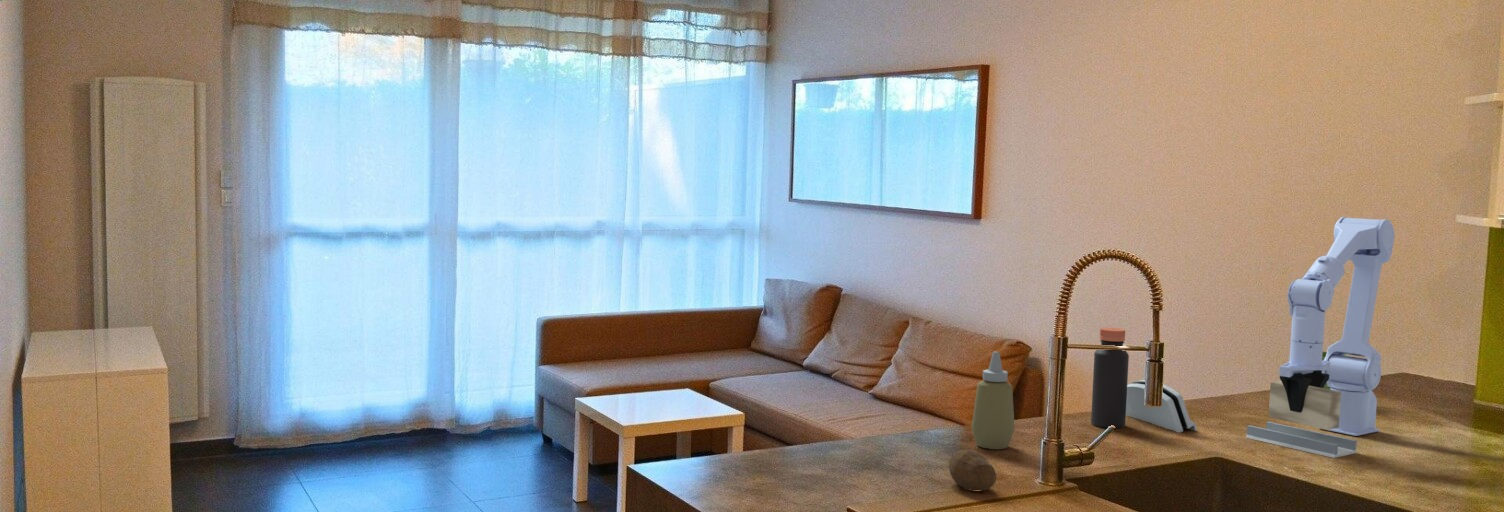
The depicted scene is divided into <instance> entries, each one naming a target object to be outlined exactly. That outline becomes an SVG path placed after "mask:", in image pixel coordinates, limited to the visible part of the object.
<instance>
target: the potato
mask: <svg viewBox="0 0 1504 512" xmlns="http://www.w3.org/2000/svg"><path fill="white" fill-rule="evenodd" d="M948 462H949V463H948V467H949V468H948V470H949V474H950V476H951V479H952V480H954V483H956V484H957V486H960V487H961V488H963V487H964V488H963V489H965V488H966V489H965V490H967V489H971V490H984V491H986V490H989V489H990V488H992V487H993V486H994V485H995V483H996V481H997V474H996V470H995V468H994V467H993V465H992V464H990V462H989V461H988V460H987V458H986V456H985V455H983V453H981V452H979V451H977V450H974V449H961V450H958V451H956V452H955V453H954V454H953V455H952V456H951V458H950V460H949V461H948Z"/></svg>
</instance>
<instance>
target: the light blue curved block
mask: <svg viewBox="0 0 1504 512" xmlns="http://www.w3.org/2000/svg"><path fill="white" fill-rule="evenodd" d="M1145 380H1146V379H1142V380H1141V379H1140V380H1137V381H1131V383H1129V384H1128V383H1127V400H1126V417H1131V418H1134V419H1136V418H1137V419H1136V420H1139V419H1140V420H1139V421H1142V420H1143V421H1142V422H1145V421H1146V422H1145V423H1148V422H1150V423H1149V424H1151V423H1152V424H1151V425H1154V424H1156V425H1155V426H1157V425H1158V427H1160V426H1162V427H1161V428H1163V427H1164V428H1163V429H1166V428H1167V429H1166V430H1169V429H1170V431H1172V430H1173V431H1172V432H1175V431H1176V432H1175V433H1182V432H1184V429H1188V430H1191V431H1194V432H1198V428H1197V424H1196V422H1195V421H1192V420H1191V419H1190V416H1189V413H1188V410H1187V407H1186V403H1185V400H1184V398H1183V396H1182V395H1181V394H1180V393H1179V392H1178V391H1177V390H1175V389H1173V388H1171V387H1170V386H1168V385H1165V384H1164V383H1162V384H1163V392H1162V406H1161V407H1146V406H1145V405H1144V388H1145Z"/></svg>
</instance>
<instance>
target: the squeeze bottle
mask: <svg viewBox="0 0 1504 512" xmlns="http://www.w3.org/2000/svg"><path fill="white" fill-rule="evenodd" d="M1008 375H1009V373H1008V371H1007V370H1003V364H1002V360H1001V355H1000V351H992V355H991V359H990V361H989V366H988V369H983V370H982V380H980V381H979V382H977V386H976V391H975V398H974V399H975V400H974V406H973V414H972V421H971V430H972V433H973V437H974V440H975V444H976V446H978V447H980V448H983V449H987V448H988V450H1005V449H1007V448H1008V447H1009V445H1010V442H1011V440H1012V437H1013V434H1014V431H1015V411H1014V396H1013V395H1014V394H1013V392H1014V391H1013V385H1012V384H1011V382H1008V380H1009V379H1008V377H1009V376H1008Z"/></svg>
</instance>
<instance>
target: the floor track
mask: <svg viewBox="0 0 1504 512" xmlns="http://www.w3.org/2000/svg"><path fill="white" fill-rule="evenodd" d="M1245 438H1247V439H1250V440H1255V441H1258V442H1264V443H1269V444H1272V445H1276V446H1280V447H1285V448H1290V449H1294V450H1298V451H1302V452H1306V453H1311V454H1314V455H1321V456H1325V457H1328V458H1333V459H1335V458H1340V457H1345V456H1349V455H1353V454H1357V453H1358V449H1357V445H1358V440H1357V439H1353V438H1348V437H1343V436H1338V435H1334V434H1333V435H1332V434H1330V433H1329V434H1327V433H1323V432H1319V431H1314V430H1310V429H1305V428H1300V427H1297V426H1292V425H1286V424H1282V423H1278V422H1272V421H1266V427H1259V426H1254V425H1247V426H1246V434H1245Z"/></svg>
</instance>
